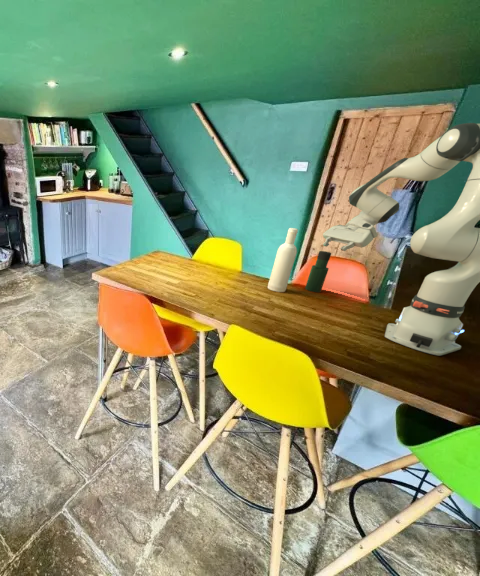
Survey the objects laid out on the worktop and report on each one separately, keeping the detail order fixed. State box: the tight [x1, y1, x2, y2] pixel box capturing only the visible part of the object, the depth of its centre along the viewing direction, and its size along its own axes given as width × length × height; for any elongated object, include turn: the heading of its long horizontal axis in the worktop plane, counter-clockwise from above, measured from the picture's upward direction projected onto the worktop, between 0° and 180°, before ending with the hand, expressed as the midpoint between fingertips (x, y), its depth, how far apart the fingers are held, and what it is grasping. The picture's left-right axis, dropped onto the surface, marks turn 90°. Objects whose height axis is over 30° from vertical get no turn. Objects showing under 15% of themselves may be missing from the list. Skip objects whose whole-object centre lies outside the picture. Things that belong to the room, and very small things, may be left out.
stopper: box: [316, 250, 332, 262], centre depth 146 cm, size 5×5×8 cm
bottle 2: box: [304, 258, 330, 293], centre depth 148 cm, size 7×7×16 cm
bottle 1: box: [267, 227, 299, 293], centre depth 143 cm, size 8×8×30 cm
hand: (333, 247), depth 144 cm, fingers open, 8 cm apart
